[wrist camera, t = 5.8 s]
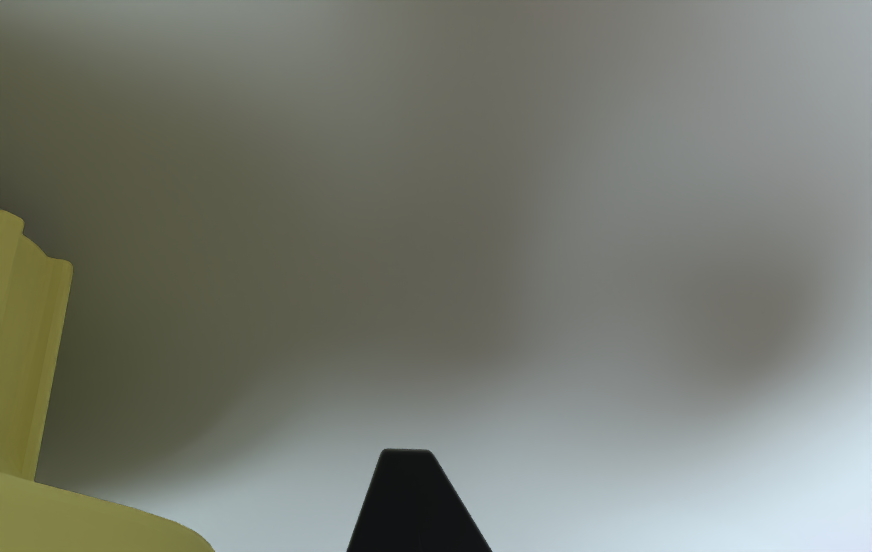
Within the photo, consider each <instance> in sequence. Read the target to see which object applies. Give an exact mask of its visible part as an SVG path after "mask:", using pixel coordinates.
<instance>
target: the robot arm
mask: <svg viewBox="0 0 872 552" xmlns="http://www.w3.org/2000/svg"><path fill="white" fill-rule="evenodd" d="M346 552H492V550H491V548H490V547H489V545H488V543H487V542H486V540H485V539H484V537H483V535H482V534H481V532H480V530H479V529H478V527H477V525H476V524H475V522H474V520H473V519H472V517H471V515H470V514H469V512H468V510H467V509H466V507H465V505H464V504H463V502H462V501H461V499H460V497H459V496H458V494H457V492H456V491H455V489H454V487H453V486H452V484H451V482H450V481H449V479H448V477H447V476H446V474H445V472H444V471H443V469H442V467H441V466H440V464H439V463H438V461H437V459H436V458H435V456H434V455H433V453H432V452H430V451H429V450H423V449H389V448H387V449H384V450H383V451H382V452H381V454H380V457H379V459H378V462H377V465H376V468H375V471H374V474H373V477H372V479H371V482H370V485H369V488H368V491H367V494H366V497H365V500H364V502H363V505H362V508H361V511H360V514H359V517H358V520H357V522H356V525H355V528H354V531H353V534H352V537H351V540H350V542H349V545H348V548H347V551H346Z"/></svg>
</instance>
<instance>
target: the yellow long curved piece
mask: <svg viewBox="0 0 872 552" xmlns="http://www.w3.org/2000/svg"><path fill="white" fill-rule="evenodd" d="M24 225H25V223H24V221H23V220H22V219H21V218H20V217H18V216H16V215H14V214H12V213H9V212H7V211H5V210H0V552H215V551H214V549H213V548H212V547H211V545H210V544H209V543H208V542H207V541H206V540H205V539H204V538H203V537H202V536H201V535H199V534H198V533H196V532H195V531H193V530H191V529H189V528H187V527H185V526H183V525H181V524H179V523H177V522H175V521H172V520H169V519H165V518H162V517H159V516H156V515H153V514H150V513H147V512H144V511H141V510H138V509H135V508H132V507H128V506H124V505H120V504H116V503H113V502H109V501H105V500H101V499H97V498H94V497H90V496H86V495H82V494H78V493H75V492H71V491H67V490H63V489H59V488H56V487H52V486H48V485H44V484H40V483H37V482H34V479H35V474H36V468H37V463H38V458H39V452H40V447H41V442H42V436H43V431H44V426H45V420H46V415H47V410H48V404H49V399H50V394H51V388H52V383H53V378H54V372H55V367H56V362H57V356H58V351H59V346H60V340H61V335H62V330H63V324H64V319H65V314H66V308H67V303H68V298H69V292H70V287H71V282H72V276H73V265H72V264H71V263H70V262H69V261H66V260H62V259H55V258H50V257H48V256H46V254H45V253H44V252H43V251H42V250H41V249H40V248H39V247H38V245H36V244H35V243H34V242H32V241H31V240H30V239H28V238H27V237H26V236H24V235H23V234H22V233H23V229H24Z"/></svg>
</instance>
